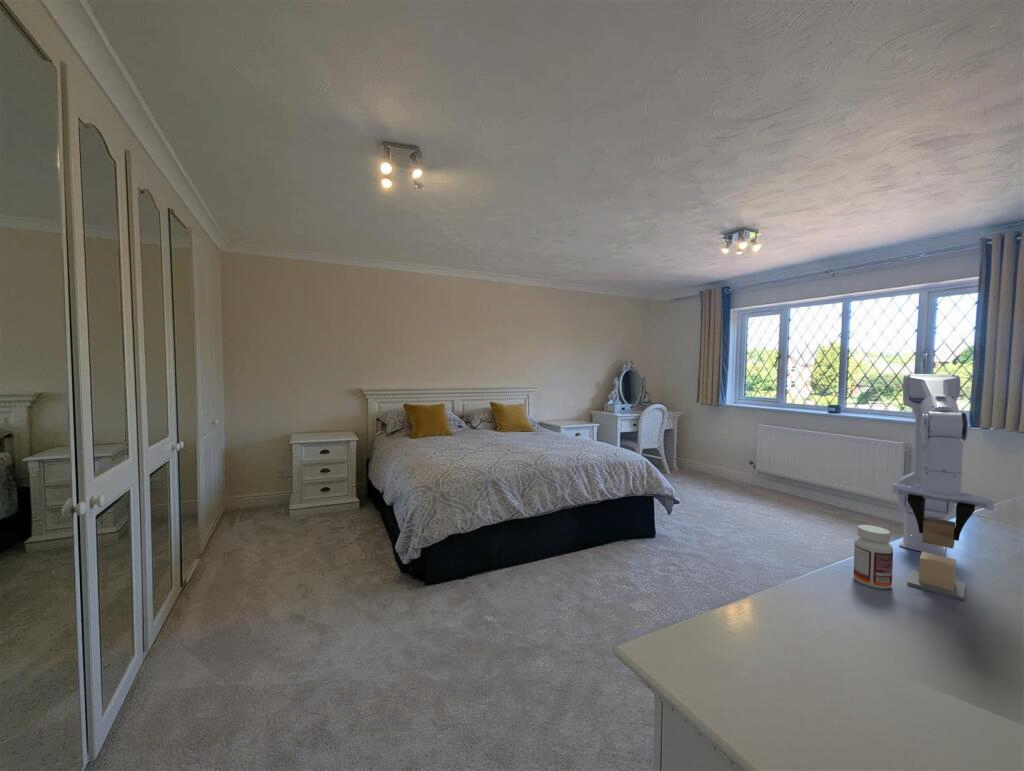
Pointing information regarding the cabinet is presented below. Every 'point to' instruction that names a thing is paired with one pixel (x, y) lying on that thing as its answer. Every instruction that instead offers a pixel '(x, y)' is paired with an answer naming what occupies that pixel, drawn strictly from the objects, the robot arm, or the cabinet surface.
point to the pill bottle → (873, 557)
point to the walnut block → (938, 532)
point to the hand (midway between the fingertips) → (938, 535)
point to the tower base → (936, 589)
